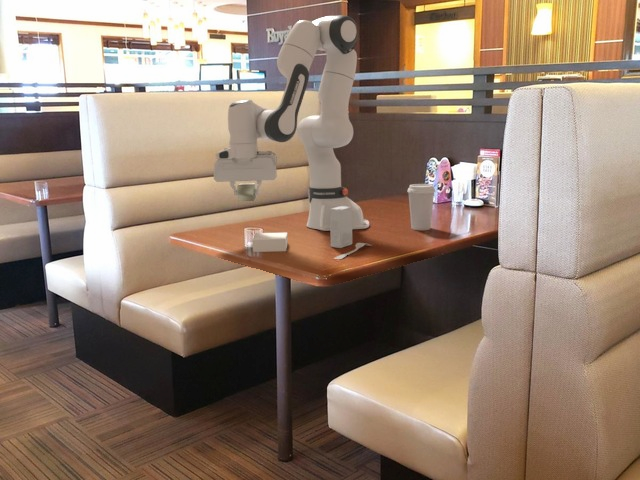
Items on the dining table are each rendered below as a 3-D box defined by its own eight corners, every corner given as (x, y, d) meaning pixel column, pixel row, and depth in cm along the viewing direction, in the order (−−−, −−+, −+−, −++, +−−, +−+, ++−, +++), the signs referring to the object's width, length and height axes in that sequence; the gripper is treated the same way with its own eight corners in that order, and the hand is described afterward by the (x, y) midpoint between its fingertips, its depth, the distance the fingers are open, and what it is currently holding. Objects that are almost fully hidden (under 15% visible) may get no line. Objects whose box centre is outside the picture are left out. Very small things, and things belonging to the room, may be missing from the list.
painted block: (287, 244, 202) (287, 232, 201) (286, 252, 193) (285, 239, 192) (256, 245, 202) (255, 233, 202) (253, 253, 193) (252, 240, 192)
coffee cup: (438, 226, 222) (438, 184, 219) (430, 232, 214) (431, 187, 211) (411, 225, 226) (411, 183, 223) (403, 230, 218) (403, 186, 215)
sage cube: (255, 198, 209) (254, 183, 208) (253, 200, 204) (252, 185, 203) (240, 198, 209) (239, 183, 208) (238, 201, 205) (237, 185, 203)
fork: (331, 268, 182) (330, 259, 181) (366, 245, 198) (365, 237, 197) (340, 269, 180) (339, 260, 179) (374, 246, 197) (373, 238, 196)
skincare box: (342, 243, 201) (341, 205, 198) (353, 245, 198) (352, 206, 195) (329, 246, 196) (328, 208, 194) (341, 248, 194) (340, 209, 191)
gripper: (277, 149, 206) (279, 192, 209) (214, 152, 207) (218, 194, 210) (275, 151, 200) (277, 195, 203) (210, 154, 201) (214, 197, 204)
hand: (246, 194), depth 207 cm, fingers closed on sage cube, 5 cm apart
